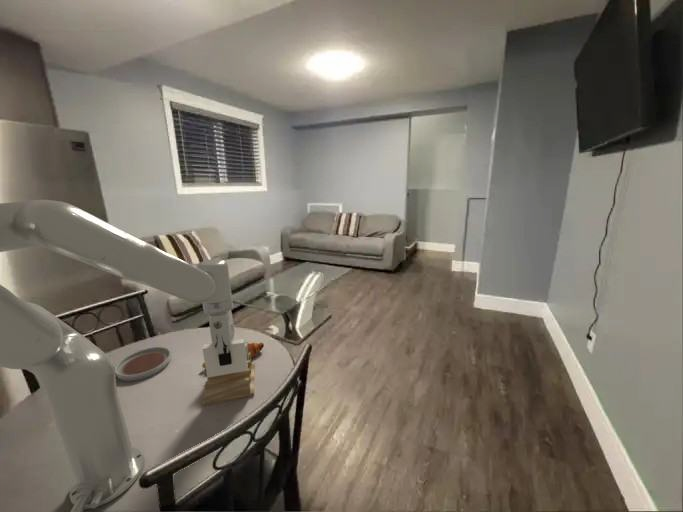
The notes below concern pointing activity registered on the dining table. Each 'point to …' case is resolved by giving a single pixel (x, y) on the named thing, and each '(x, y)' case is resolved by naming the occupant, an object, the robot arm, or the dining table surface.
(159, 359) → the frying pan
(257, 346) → the croissant
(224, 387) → the rack
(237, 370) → the white rectangular slab
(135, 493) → the dining table surface
